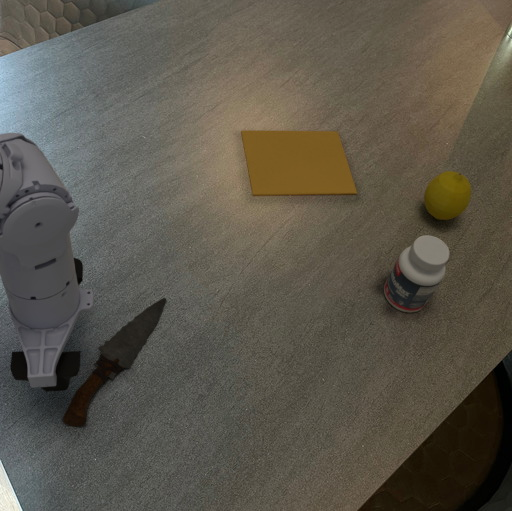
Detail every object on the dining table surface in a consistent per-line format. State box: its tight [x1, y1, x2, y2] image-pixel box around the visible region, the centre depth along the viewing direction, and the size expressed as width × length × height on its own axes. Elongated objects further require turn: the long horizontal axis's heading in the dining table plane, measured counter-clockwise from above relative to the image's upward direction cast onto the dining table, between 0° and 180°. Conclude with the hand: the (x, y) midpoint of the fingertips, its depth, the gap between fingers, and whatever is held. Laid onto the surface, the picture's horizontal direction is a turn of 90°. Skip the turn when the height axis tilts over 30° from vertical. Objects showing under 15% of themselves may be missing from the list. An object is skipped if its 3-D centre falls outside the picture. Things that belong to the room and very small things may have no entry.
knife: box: [62, 297, 167, 428], centre depth 63 cm, size 17×2×5 cm
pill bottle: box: [383, 234, 451, 313], centre depth 70 cm, size 5×5×9 cm
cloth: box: [240, 130, 358, 197], centre depth 85 cm, size 14×12×1 cm
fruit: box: [423, 170, 472, 221], centre depth 79 cm, size 6×6×8 cm
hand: (58, 351), depth 61 cm, fingers open, 7 cm apart
